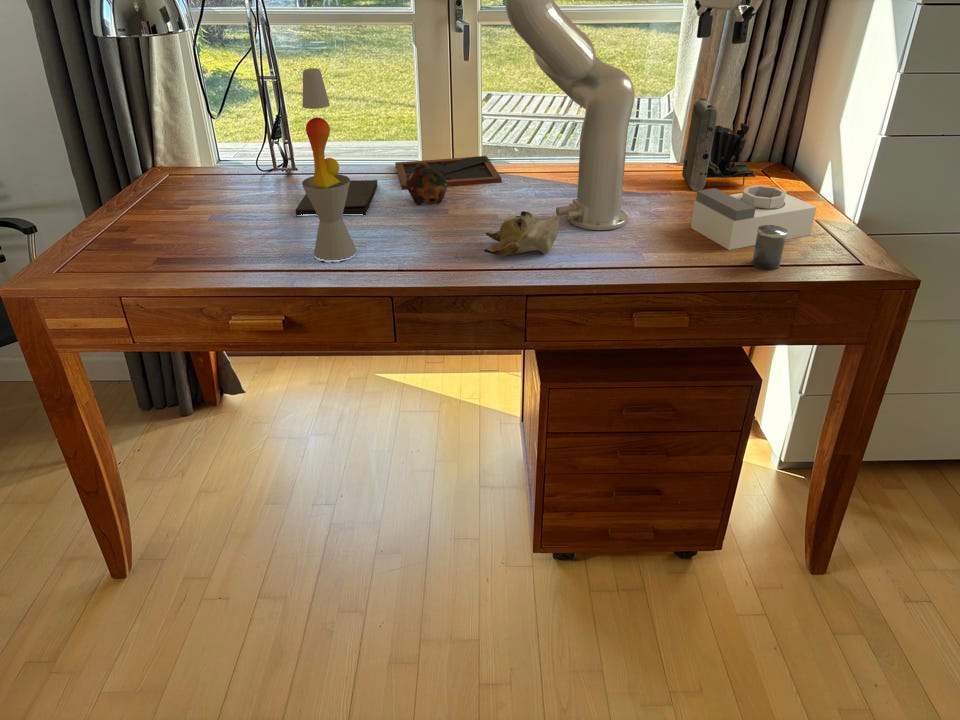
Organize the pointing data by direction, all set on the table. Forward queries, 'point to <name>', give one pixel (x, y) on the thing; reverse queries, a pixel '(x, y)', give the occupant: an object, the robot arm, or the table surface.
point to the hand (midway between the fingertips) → (720, 40)
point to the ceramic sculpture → (524, 235)
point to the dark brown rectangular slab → (347, 198)
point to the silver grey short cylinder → (769, 247)
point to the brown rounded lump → (426, 185)
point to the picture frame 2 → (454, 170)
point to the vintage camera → (712, 148)
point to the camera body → (749, 215)
